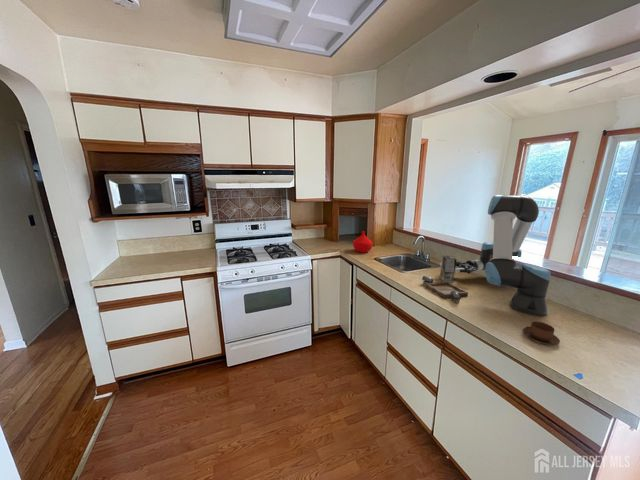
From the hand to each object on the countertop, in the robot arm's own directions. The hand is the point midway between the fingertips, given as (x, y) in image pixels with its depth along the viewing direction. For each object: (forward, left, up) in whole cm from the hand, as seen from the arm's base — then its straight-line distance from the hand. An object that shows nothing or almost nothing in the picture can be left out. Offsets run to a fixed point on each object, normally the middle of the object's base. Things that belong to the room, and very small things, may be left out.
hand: (447, 267), depth 168 cm
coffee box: (-1, 0, -9) cm, 9 cm away
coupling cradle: (-17, +14, -9) cm, 23 cm away
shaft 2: (-28, +18, -9) cm, 35 cm away
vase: (+77, +27, -9) cm, 83 cm away
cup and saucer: (-65, +9, -9) cm, 67 cm away
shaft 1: (-5, +18, -9) cm, 21 cm away
